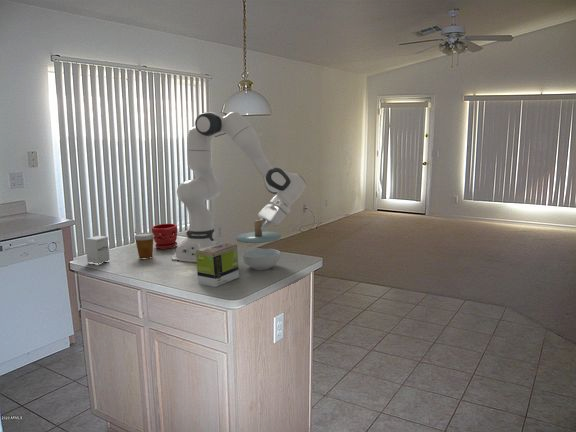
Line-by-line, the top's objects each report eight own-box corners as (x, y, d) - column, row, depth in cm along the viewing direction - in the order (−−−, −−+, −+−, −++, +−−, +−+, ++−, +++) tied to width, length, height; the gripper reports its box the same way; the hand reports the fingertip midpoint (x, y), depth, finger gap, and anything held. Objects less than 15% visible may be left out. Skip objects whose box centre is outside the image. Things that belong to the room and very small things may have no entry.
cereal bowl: (272, 261, 233) (272, 246, 232) (286, 269, 218) (285, 254, 217) (238, 265, 227) (238, 250, 226) (249, 274, 212) (249, 259, 211)
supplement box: (98, 265, 232) (95, 239, 230) (87, 264, 236) (84, 238, 233) (110, 261, 239) (108, 236, 237) (99, 260, 242) (97, 235, 240)
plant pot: (159, 244, 274) (158, 223, 271) (182, 244, 271) (180, 223, 269) (148, 249, 261) (147, 227, 259) (171, 250, 258) (170, 228, 256)
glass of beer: (158, 255, 248) (157, 232, 246) (150, 260, 239) (148, 236, 237) (141, 255, 250) (139, 232, 248) (132, 260, 241) (130, 236, 239)
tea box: (222, 274, 213) (220, 241, 211) (239, 278, 208) (238, 244, 205) (197, 283, 201) (195, 248, 199) (215, 287, 196) (213, 251, 193)
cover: (230, 243, 212) (229, 225, 210) (242, 233, 231) (241, 217, 230) (276, 242, 208) (275, 224, 207) (284, 233, 228) (283, 216, 226)
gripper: (267, 197, 229) (248, 220, 228) (282, 203, 210) (261, 228, 209) (276, 206, 232) (257, 228, 230) (292, 212, 213) (271, 237, 211)
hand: (259, 228), depth 219 cm, fingers closed on cover, 3 cm apart
